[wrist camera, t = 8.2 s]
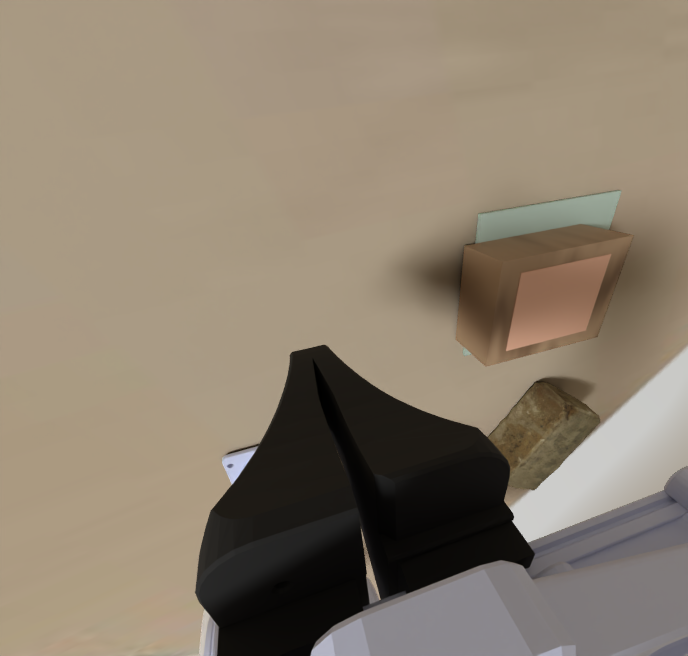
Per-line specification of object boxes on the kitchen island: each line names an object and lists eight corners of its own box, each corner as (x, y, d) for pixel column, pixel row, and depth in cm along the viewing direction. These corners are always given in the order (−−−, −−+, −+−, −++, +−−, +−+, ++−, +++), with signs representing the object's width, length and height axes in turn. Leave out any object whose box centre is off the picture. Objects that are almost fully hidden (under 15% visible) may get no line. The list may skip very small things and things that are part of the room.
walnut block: (455, 339, 27) (555, 315, 28) (486, 366, 23) (597, 337, 25) (464, 245, 23) (580, 223, 24) (503, 262, 19) (634, 235, 21)
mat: (575, 325, 30) (578, 326, 30) (463, 354, 28) (464, 355, 28) (617, 190, 24) (621, 190, 24) (478, 213, 22) (481, 214, 22)
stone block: (566, 387, 35) (609, 419, 31) (502, 459, 39) (533, 497, 35) (535, 374, 33) (577, 408, 28) (469, 453, 36) (498, 493, 32)
